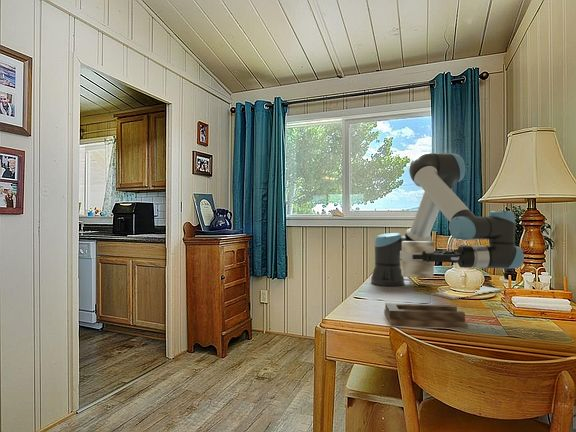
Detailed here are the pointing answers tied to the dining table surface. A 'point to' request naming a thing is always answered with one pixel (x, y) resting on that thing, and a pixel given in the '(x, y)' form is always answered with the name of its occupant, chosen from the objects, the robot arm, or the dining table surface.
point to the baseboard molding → (482, 290)
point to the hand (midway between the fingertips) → (401, 255)
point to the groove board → (425, 315)
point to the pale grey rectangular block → (417, 267)
